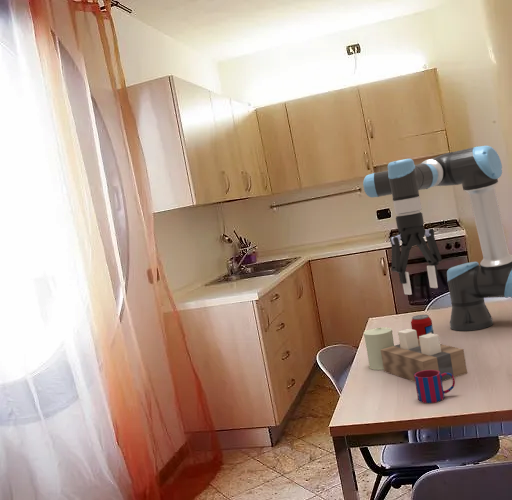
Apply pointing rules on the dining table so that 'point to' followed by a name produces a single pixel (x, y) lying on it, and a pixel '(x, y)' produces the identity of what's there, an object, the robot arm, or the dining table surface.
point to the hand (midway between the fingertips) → (421, 290)
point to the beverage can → (422, 325)
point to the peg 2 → (430, 344)
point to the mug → (431, 385)
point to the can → (377, 345)
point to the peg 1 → (408, 339)
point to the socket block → (423, 361)
